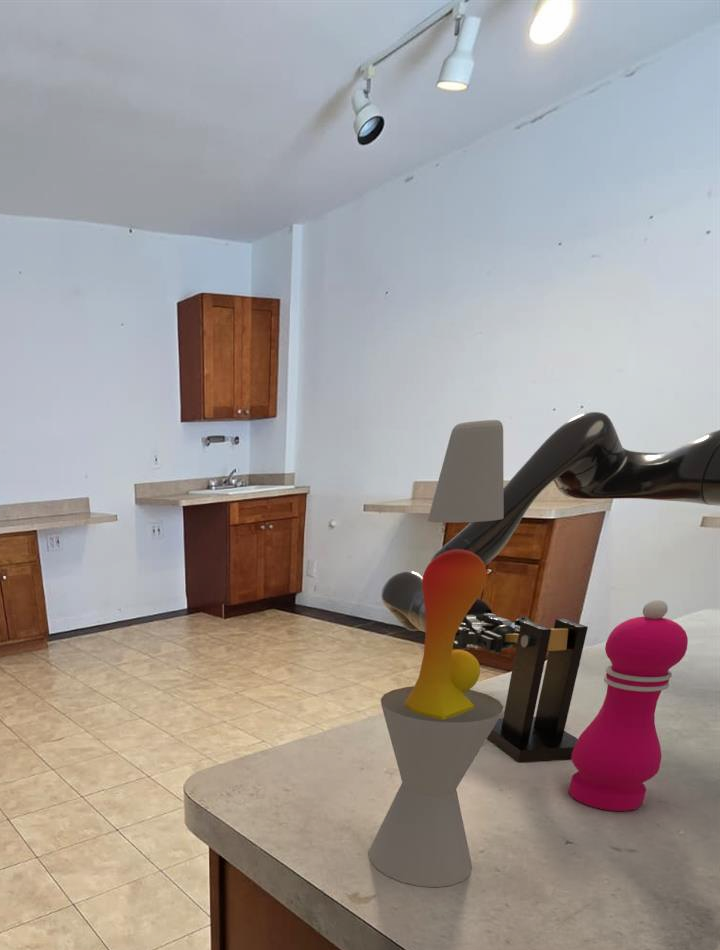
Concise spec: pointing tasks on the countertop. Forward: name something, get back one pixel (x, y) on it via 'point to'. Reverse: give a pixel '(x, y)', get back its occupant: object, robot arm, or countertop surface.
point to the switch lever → (510, 635)
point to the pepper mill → (628, 713)
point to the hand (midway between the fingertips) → (514, 644)
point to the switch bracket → (546, 730)
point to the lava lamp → (443, 682)
